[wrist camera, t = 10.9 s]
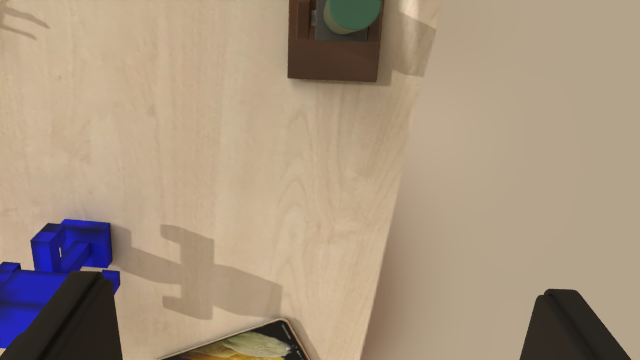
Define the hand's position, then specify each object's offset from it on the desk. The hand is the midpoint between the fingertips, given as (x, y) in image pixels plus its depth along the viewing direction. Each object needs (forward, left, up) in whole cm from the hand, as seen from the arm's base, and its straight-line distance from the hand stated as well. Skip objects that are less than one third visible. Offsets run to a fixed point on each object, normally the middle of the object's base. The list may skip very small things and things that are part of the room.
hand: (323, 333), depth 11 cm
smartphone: (+31, -7, -32) cm, 45 cm away
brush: (-6, +1, -20) cm, 21 cm away
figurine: (+17, -20, -32) cm, 42 cm away
